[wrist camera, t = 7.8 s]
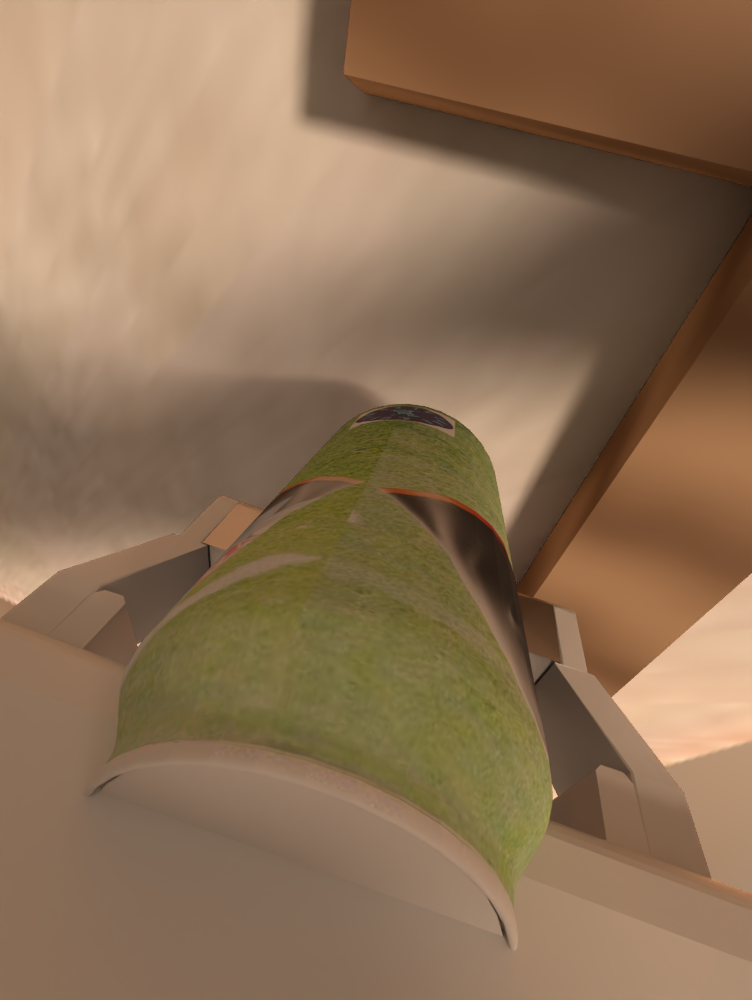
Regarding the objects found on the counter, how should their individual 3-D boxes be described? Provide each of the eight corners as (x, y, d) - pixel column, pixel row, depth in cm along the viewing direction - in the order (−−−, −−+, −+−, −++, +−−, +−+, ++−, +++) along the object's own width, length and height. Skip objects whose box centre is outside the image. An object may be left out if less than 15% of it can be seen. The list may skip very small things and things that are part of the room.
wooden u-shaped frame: (388, -82, 10) (366, -140, 8) (1182, 81, 8) (1340, 52, 7) (299, 582, 24) (285, 608, 23) (585, 679, 23) (591, 714, 21)
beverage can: (323, 516, 17) (91, 917, 7) (343, 331, 12) (-180, 722, 3) (474, 560, 16) (438, 1062, 7) (550, 381, 12) (780, 1101, 2)
